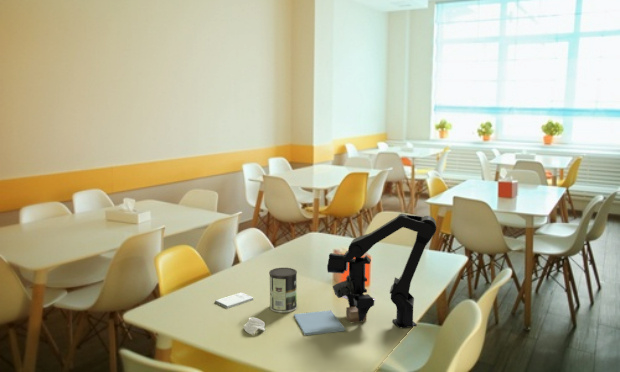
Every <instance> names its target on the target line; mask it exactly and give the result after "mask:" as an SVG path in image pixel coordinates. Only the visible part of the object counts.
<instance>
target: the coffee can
mask: <svg viewBox="0 0 620 372" xmlns="http://www.w3.org/2000/svg"><path fill="white" fill-rule="evenodd" d="M297 273H298V271H297V270H296V269H294V268H292V267H275V268H272V269H270V270H269V273H268V274H269V309H270V311H273V312H275V313H282V314H283V313H284V314H286V313H291V312H294V311H295V310H297V308H298V304H297V301H298V299H297V291H298V290H297V282H298V281H297Z"/></svg>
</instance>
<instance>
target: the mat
mask: <svg viewBox="0 0 620 372" xmlns="http://www.w3.org/2000/svg"><path fill="white" fill-rule="evenodd" d="M293 317H294V319H295V320H296V322H297V324H298V327H300V330H301V332H302V333H303V335H304V336H311V335H320V334H329V333H337V332H345V331H346V329H345V326H344V325H343V324H342V323H341V321H340V319H338V318H337V316H336V314H334V312H333V311H332V310H321V311H312V312H311V311H310V312H304V313H303V312H302V313H294V314H293Z"/></svg>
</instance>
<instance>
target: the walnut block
mask: <svg viewBox="0 0 620 372" xmlns="http://www.w3.org/2000/svg"><path fill="white" fill-rule="evenodd" d="M345 309H346V310H345V311H346V314H345V318H346V319H347V321H348V322H349V323H351V324H353V323H357V322H358V323H359V322H360V321H359V317H358V309H357V308H356V306H355V307H349V306H348V307H347V306H346V308H345ZM367 314H368V313H367ZM367 314H366V316H365V318H364V319H363V321H362V322H367Z"/></svg>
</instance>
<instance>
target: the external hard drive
mask: <svg viewBox="0 0 620 372" xmlns="http://www.w3.org/2000/svg"><path fill="white" fill-rule="evenodd" d="M254 299H255V298H254V297H253V296H251V295H249V294H246V293H244V292H241V291H240V292H238V293H234V294H231V295H229V296H225V297H222V298H219V299H215V300H214V303H215V304H217V305H219V306H221V307H224V308H225V309H230V308H233V307H236V306H240V305H242V304H244V303H248V302H251V301H254Z"/></svg>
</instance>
